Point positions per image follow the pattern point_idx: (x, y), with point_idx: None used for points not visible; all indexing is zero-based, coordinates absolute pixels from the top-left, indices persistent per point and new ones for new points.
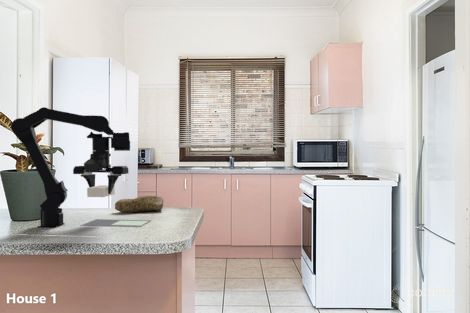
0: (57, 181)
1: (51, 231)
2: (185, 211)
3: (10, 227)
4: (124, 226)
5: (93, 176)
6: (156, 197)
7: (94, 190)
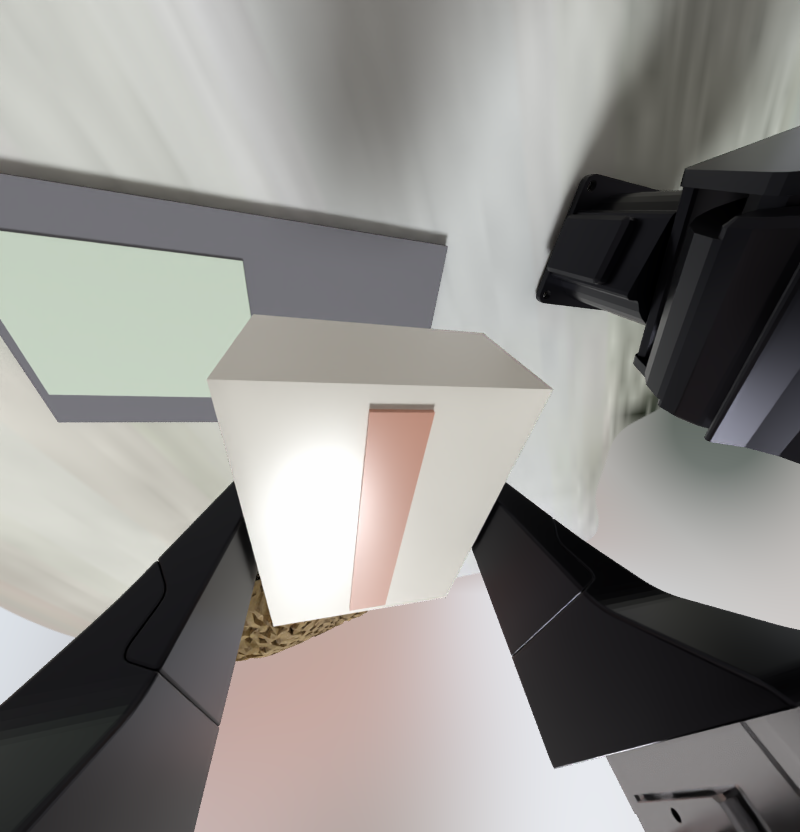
0: None
1: (600, 51)
2: (103, 606)
3: None
4: (82, 194)
5: (560, 706)
6: None
7: (411, 364)
